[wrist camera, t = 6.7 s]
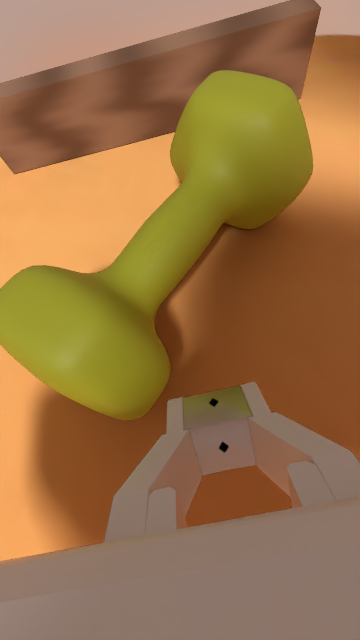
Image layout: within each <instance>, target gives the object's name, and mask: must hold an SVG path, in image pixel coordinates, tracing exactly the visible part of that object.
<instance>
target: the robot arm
mask: <svg viewBox="0 0 360 640" xmlns="http://www.w3.org/2000/svg"><path fill="white" fill-rule="evenodd" d="M255 465H257V467H258V468H259V469H260V470H261V471H262V472H263V473H264V474H265V475H266V476H267V477H269V478H270V479H271V480H272V481H273V482H274V483H275V484H276V485H277V486H278V487H279V488H280V489H281V490H283V491H284V492H285V493H286V494H287V495H288V496H289V497H290V498H291V506H292V508H290V509H285V510H279V511H274V512H268V513H263V514H257V515H252V516H247V517H241V518H236V519H230V520H225V521H219V522H214V523H208V524H203V525H197V526H192V527H188V526H187V523H186V520H185V517H186V515H187V512H188V510H189V508H190V505H191V503H192V500H193V498H194V496H195V493H196V491H197V489H198V486H199V484H200V482H201V479H202V476H203V475H207V474H212V473H216V472H221V471H225V470H230V469H236V468H242V467H249V466H255ZM0 640H360V462H359V461H358V460H357V458H356V457H355V456H354V454H353V453H352V452H351V451H350V450H348V449H346V448H344V447H342V446H340V445H338V444H337V443H335V442H333V441H331V440H329V439H327V438H325V437H323V436H321V435H319V434H317V433H316V432H314V431H312V430H310V429H308V428H306V427H304V426H302V425H300V424H298V423H296V422H295V421H293V420H291V419H289V418H287V417H285V416H283V415H281V414H279V413H277V412H272V413H271V411H270V409H269V407H268V405H267V403H266V401H265V399H264V397H263V395H262V393H261V391H260V389H259V387H258V385H257V383H256V382H250V383H246V384H241V385H239V386H234V387H230V388H225V389H221V390H216V391H212V392H211V391H210V392H205V393H200V394H194V395H189V396H184V397H179V398H174V399H169V400H168V402H167V427H166V434H164V435H161V437H160V438H159V439H158V441H157V442H156V443H155V444H154V446H153V447H152V448H151V449H150V451H149V452H148V453H147V454H146V456H145V457H144V458H143V460H142V461H141V462H140V463H139V465H138V466H137V467H136V468H135V470H134V471H133V472H132V473H131V475H130V476H129V477H128V479H127V480H126V481H125V482H124V484H123V485H122V486H121V487H120V489H119V490H118V491H117V493H116V494H115V495H114V497H113V502H112V507H111V511H110V516H109V520H108V525H107V530H106V534H105V539H104V543H98V544H93V545H87V546H82V547H76V548H71V549H65V550H60V551H54V552H49V553H43V554H38V555H32V556H27V557H21V558H16V559H10V560H5V561H0Z"/></svg>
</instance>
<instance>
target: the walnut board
mask: <svg viewBox="0 0 360 640" xmlns="http://www.w3.org/2000/svg"><path fill="white" fill-rule="evenodd" d="M320 10H321V7H320V6H319V5H318V4H317V3H316V2H315V1H314V0H290V1H286V2H283V3H279V4H276V5H272V6H269V7H265V8H262V9H258V10H255V11H251V12H248V13H244V14H241V15H238V16H234V17H230V18H227V19H223V20H220V21H217V22H213V23H209V24H206V25H202V26H199V27H195V28H192V29H188V30H185V31H181V32H178V33H174V34H171V35H167V36H164V37H160V38H157V39H153V40H150V41H146V42H143V43H139V44H136V45H132V46H129V47H125V48H122V49H118V50H115V51H111V52H108V53H104V54H101V55H97V56H94V57H90V58H87V59H83V60H80V61H76V62H73V63H69V64H66V65H62V66H59V67H55V68H52V69H48V70H45V71H41V72H38V73H35V74H31V75H28V76H24V77H20V78H17V79H14V80H10V81H6V82H3V83H0V157H1V158H2V159H3V160H4V162H5V163H6V164H7V166H8V167H9V168H10V169H11V171H12V172H13V173H14V174H16V173H20V172H24V171H28V170H31V169H35V168H39V167H43V166H47V165H50V164H54V163H58V162H62V161H65V160H69V159H73V158H77V157H80V156H84V155H88V154H92V153H96V152H99V151H103V150H107V149H111V148H114V147H118V146H122V145H126V144H130V143H133V142H137V141H141V140H145V139H148V138H152V137H156V136H160V135H163V134H167V133H171V132H175V131H176V129H177V125H178V123H179V120H180V118H181V115H182V113H183V110H184V108H185V106H186V104H187V102H188V100H189V99H190V97H191V95H192V94H193V92H194V91H195V90H196V89H197V87H198V86H199V85H200V84H201V83H202V82H203V81H204V80H205V79H206V78H207V77H208V76H209V75H210V74H212V73H213V72H216V71H221V70H231V71H239V72H245V73H250V74H255V75H259V76H264V77H267V78H271V79H274V80H277V81H280V82H282V83H284V84H286V85H287V86H288V87H290V88H291V89H292V90H293V92H294V93H295V95H296V96H297V99H299V98H301V94H302V90H303V85H304V81H305V77H306V72H307V68H308V63H309V59H310V54H311V50H312V46H313V41H314V37H315V32H316V28H317V24H318V19H319V15H320Z"/></svg>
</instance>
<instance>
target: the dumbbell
mask: <svg viewBox="0 0 360 640" xmlns="http://www.w3.org/2000/svg"><path fill="white" fill-rule="evenodd" d="M170 158H171V163H172V166H173V168H174V170H175V172H176V174H177V176H178V178H179V179H180V181H181V183H182V184H181V185H180V186H179V187H178V188H177V189H176V190H175V191H174V192H173V193H172V194H171V195H170V196H169V197H168V198H167V199H166V200H165V201H164V203H163V204H162V205H161V206H160V207H159V208H158V209H157V210H156V211H155V212H154V213H153V214H152V215H151V216H150V217H149V218H148V219H147V220H146V221H145V223H144V224H143V225H142V226H141V227H140V229H139V230H138V231H137V233H136V234H135V235H134V237H133V238H132V239H131V240H130V242H129V243H128V244H127V246H126V247H125V248H124V250H123V251H122V252H121V254H120V255H119V256H118V257H117V259H116V260H115V261H114V262H113V263H112V264H111V265H110V266H109V267H108V268H106V269H104V270H103V271H100V272H97V273H89V274H87V273H79V272H75V271H71V270H67V269H63V268H59V267H53V266H46V265H44V266H31V267H28V268H26V269H23V270H21V271H20V272H19V273H17V274H16V275H14V276H13V277H12V278H11V279H10V280H9V281H8V282H7V283H6V284H5V285H4V286H3V287H2V288H1V289H0V344H1V346H2V347H3V348H4V349H5V350H6V351H7V352H8V353H9V354H10V355H11V356H12V357H13V358H14V359H16V360H17V361H18V362H19V363H20V364H21V365H22V366H24V367H25V368H26V369H27V370H28V371H29V372H31V373H32V374H33V375H34V376H35V377H37V378H38V379H39V380H40V381H42V382H43V383H44V384H46V385H47V386H49V387H50V388H52V389H54V390H55V391H57V392H59V393H60V394H62V395H64V396H66V397H68V398H70V399H72V400H74V401H76V402H78V403H80V404H82V405H84V406H86V407H88V408H90V409H92V410H94V411H97V412H99V413H101V414H104V415H106V416H109V417H112V418H116V419H119V420H127V421H129V420H135V419H139V418H141V417H142V416H144V415H145V414H146V413H147V412H148V411H149V410H150V409H151V407H152V406H153V405H154V403H155V402H156V400H157V399H158V397H159V396H160V395H161V393H162V391H163V390H164V388H165V386H166V384H167V382H168V380H169V377H170V372H171V368H170V360H169V357H168V354H167V352H166V349H165V347H164V346H163V344H162V342H161V341H160V339H159V337H158V336H157V333H156V330H155V324H154V322H155V315H156V313H157V310H158V308H159V307H160V305H161V303H162V302H163V301H164V300H165V298H166V297H167V296H168V295H169V294H170V293H171V292H172V290H173V289H174V288H175V287H176V286H177V285H178V283H179V282H180V281H181V280H182V278H183V277H184V276H185V275H186V273H187V272H188V271H189V270H190V268H191V267H192V266H193V265H194V263H195V262H196V261H197V259H198V258H199V257H200V255H201V254H202V253H203V251H204V250H205V248H206V247H207V246H208V244H209V243H210V242H211V240H212V239H213V237H214V236H215V234H216V233H217V231H218V230H219V228H220V227H221V225H222V224H223V223H226V224H229V225H232V226H235V227H238V228H242V229H255V228H258V227H260V226H262V225H263V224H265V223H267V222H268V221H270V220H271V219H272V218H274V217H275V216H276V215H278V214H279V213H280V212H281V211H283V210H284V209H285V208H286V207H287V206H288V205H289V204H290V203H291V202H292V201H293V200H294V199H295V198H296V197H297V196H298V195H299V194H300V193H301V191H302V190H303V188H304V187H305V186H306V184H307V183H308V181H309V179H310V177H311V175H312V171H313V158H312V150H311V145H310V140H309V136H308V131H307V127H306V123H305V119H304V116H303V113H302V109H301V106H300V104H299V101H298V99H297V96H296V95H295V93H294V92H293V90H292V89H291V88H290V87H288V86H287V85H286V84H284V83H282V82H280V81H277V80H274V79H271V78H267V77H264V76H259V75H255V74H250V73H245V72H239V71H231V70H221V71H216V72H213V73H212V74H210V75H209V76H208V77H207V78H206V79H205V80H204V81H203V82H202V83H201V84H200V85H199V86H198V87H197V89H196V90H195V91H194V92H193V94H192V95H191V97H190V99H189V100H188V102H187V104H186V106H185V108H184V110H183V113H182V115H181V118H180V120H179V123H178V125H177V129H176V132H175V135H174V138H173V141H172V145H171V150H170Z"/></svg>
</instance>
